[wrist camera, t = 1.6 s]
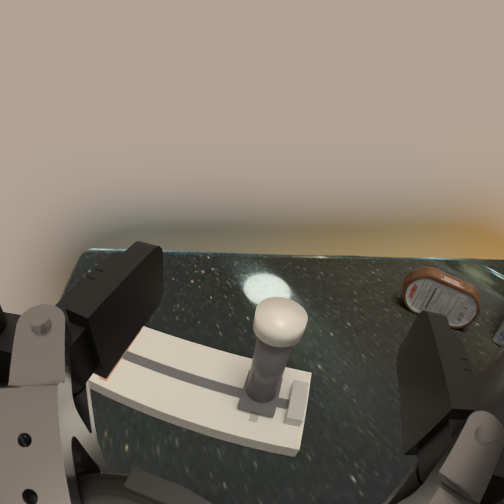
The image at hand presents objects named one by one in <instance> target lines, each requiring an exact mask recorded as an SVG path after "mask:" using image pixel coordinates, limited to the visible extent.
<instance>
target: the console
mask: <svg viewBox="0 0 504 504" xmlns="http://www.w3.org/2000/svg"><path fill="white" fill-rule="evenodd" d="M252 360H253V359H250V358H246V357H242V356H238V355H235V354H231V353H227V352H224V351H220V350H217V349H213V348H210V347H206V346H203V345H200V344H196V343H193V342H190V341H186V340H183V339H180V338H177V337H174V336H171V335H168V334H165V333H162V332H159V331H156V330H153V329H150V328H147V327H144V326H143V328H142V329H141V330H140V332H139V333H138V335H137V336H136V337H135V339H134V340H133V342H132V343H131V344H130V346H129V347H128V349H127V350H126V351H125V353H124V354H123V356H122V357H121V359H120V360H119V361H118V363H117V364H116V366H115V367H114V369H113V370H112V371H111V373H110V374H109V376H108V377H107V379H105V378H103V377H100V376H98V375H96V374H94V373H93V374H92V376H91V377H90V378H89V380H88V382H89V387H90V389H92V390H94V391H96V392H98V393H100V394H102V395H104V396H107V397H109V398H111V399H113V400H115V401H117V402H120V403H122V404H124V405H126V406H129V407H131V408H133V409H136V410H138V411H140V412H143V413H145V414H148V415H150V416H153V417H155V418H158V419H161V420H163V421H166V422H169V423H171V424H174V425H177V426H180V427H183V428H186V429H189V430H192V431H195V432H198V433H201V434H204V435H207V436H211V437H214V438H217V439H221V440H224V441H228V442H231V443H235V444H239V445H243V446H247V447H251V448H255V449H259V450H264V451H268V452H273V453H277V454H282V455H287V456H293V457H295V455H296V454H297V453H298V451H299V450H300V444H301V438H302V433H303V427H304V421H305V414H306V408H307V401H308V395H309V388H310V380H311V373H310V372H305V371H300V370H296V369H291V368H287V367H285V370H284V373H283V376H282V378H283V379H282V384H281V388H280V393H279V397H278V402H277V406H276V410H275V414H274V416H273V417H270V416H266V415H261V414H257V413H253V412H249V411H245V410H242V409H238V408H237V407H238V402H239V399H240V396H241V393H242V390H243V387H244V384H245V381H246V378H247V375H248V372H249V370H250V369H251V364H252Z"/></svg>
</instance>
